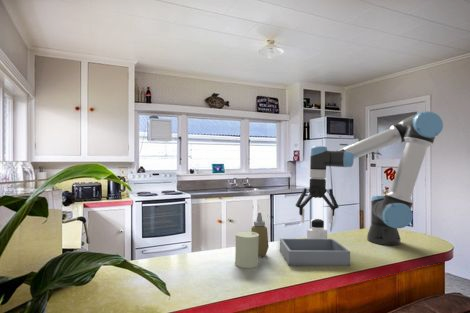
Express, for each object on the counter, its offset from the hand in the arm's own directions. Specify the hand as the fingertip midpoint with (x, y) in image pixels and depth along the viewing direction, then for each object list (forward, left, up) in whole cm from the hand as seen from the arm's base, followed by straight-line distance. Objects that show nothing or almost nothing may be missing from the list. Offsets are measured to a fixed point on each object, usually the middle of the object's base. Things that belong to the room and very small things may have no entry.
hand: (316, 222), depth 143 cm
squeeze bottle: (+30, +16, -11) cm, 35 cm away
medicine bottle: (0, 0, -11) cm, 11 cm away
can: (+36, +26, -11) cm, 45 cm away
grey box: (+8, +19, -11) cm, 23 cm away
